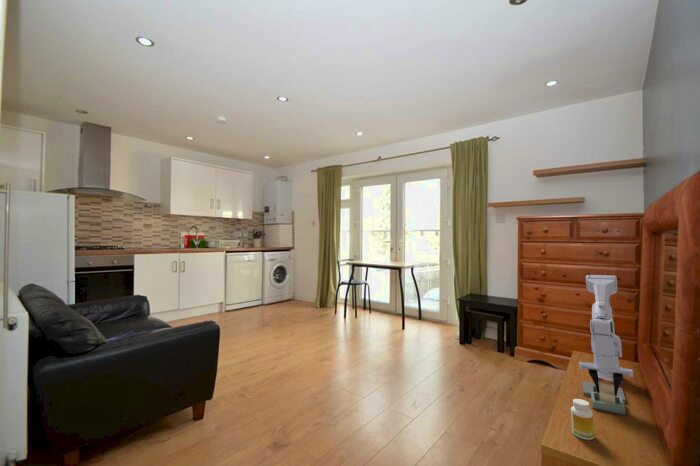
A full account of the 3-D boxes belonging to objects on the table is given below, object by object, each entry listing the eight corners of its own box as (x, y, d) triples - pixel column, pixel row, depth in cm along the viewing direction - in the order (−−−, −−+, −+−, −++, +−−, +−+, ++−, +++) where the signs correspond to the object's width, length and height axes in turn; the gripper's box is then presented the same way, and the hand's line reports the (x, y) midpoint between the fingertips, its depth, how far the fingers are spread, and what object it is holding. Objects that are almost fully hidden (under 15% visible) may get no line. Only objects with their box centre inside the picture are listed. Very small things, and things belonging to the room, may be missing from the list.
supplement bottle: (598, 441, 92) (596, 406, 92) (577, 439, 93) (575, 405, 93) (588, 430, 97) (586, 398, 97) (568, 429, 98) (566, 396, 98)
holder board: (582, 384, 127) (582, 381, 127) (621, 391, 120) (621, 387, 121) (583, 395, 118) (583, 392, 118) (626, 403, 112) (625, 400, 112)
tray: (591, 398, 116) (590, 391, 116) (622, 404, 111) (621, 396, 111) (592, 408, 109) (592, 401, 109) (625, 415, 104) (625, 407, 104)
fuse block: (599, 396, 113) (598, 376, 113) (613, 399, 111) (612, 379, 111) (600, 401, 110) (598, 380, 110) (615, 404, 108) (613, 383, 108)
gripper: (578, 353, 112) (581, 393, 111) (633, 361, 103) (636, 403, 103) (578, 348, 117) (580, 385, 117) (630, 354, 109) (632, 394, 109)
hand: (606, 393), depth 110 cm, fingers closed on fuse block, 4 cm apart
